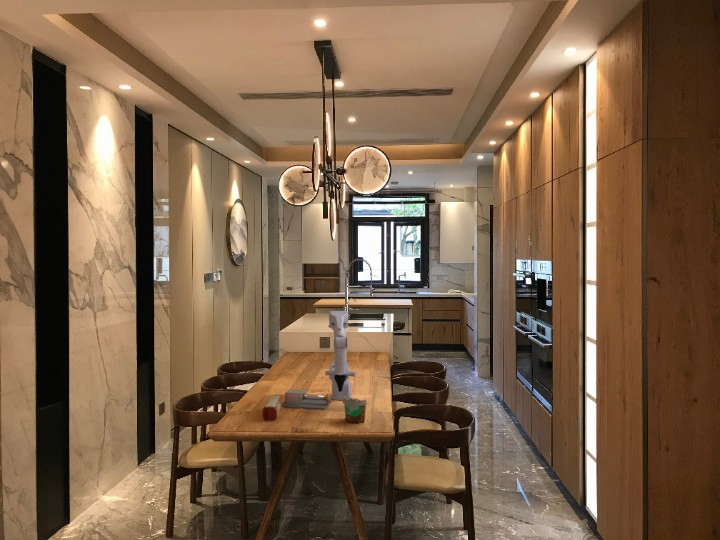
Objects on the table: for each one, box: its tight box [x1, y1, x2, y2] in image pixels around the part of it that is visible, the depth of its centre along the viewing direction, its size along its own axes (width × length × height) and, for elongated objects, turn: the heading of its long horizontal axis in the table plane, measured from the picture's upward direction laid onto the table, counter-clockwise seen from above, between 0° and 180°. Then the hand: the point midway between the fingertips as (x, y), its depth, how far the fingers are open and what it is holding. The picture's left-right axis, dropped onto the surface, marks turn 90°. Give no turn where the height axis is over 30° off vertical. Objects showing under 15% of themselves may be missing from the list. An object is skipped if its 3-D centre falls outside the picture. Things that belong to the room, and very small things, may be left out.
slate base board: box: [282, 399, 333, 411], centre depth 266 cm, size 22×14×1 cm, turn 80°
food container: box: [342, 395, 368, 425], centre depth 239 cm, size 12×6×10 cm, turn 45°
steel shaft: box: [303, 393, 332, 404], centre depth 265 cm, size 16×4×4 cm, turn 80°
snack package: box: [261, 395, 283, 422], centre depth 250 cm, size 21×7×7 cm, turn 1°
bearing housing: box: [284, 388, 307, 405], centre depth 267 cm, size 8×8×6 cm
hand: (340, 391), depth 263 cm, fingers closed
